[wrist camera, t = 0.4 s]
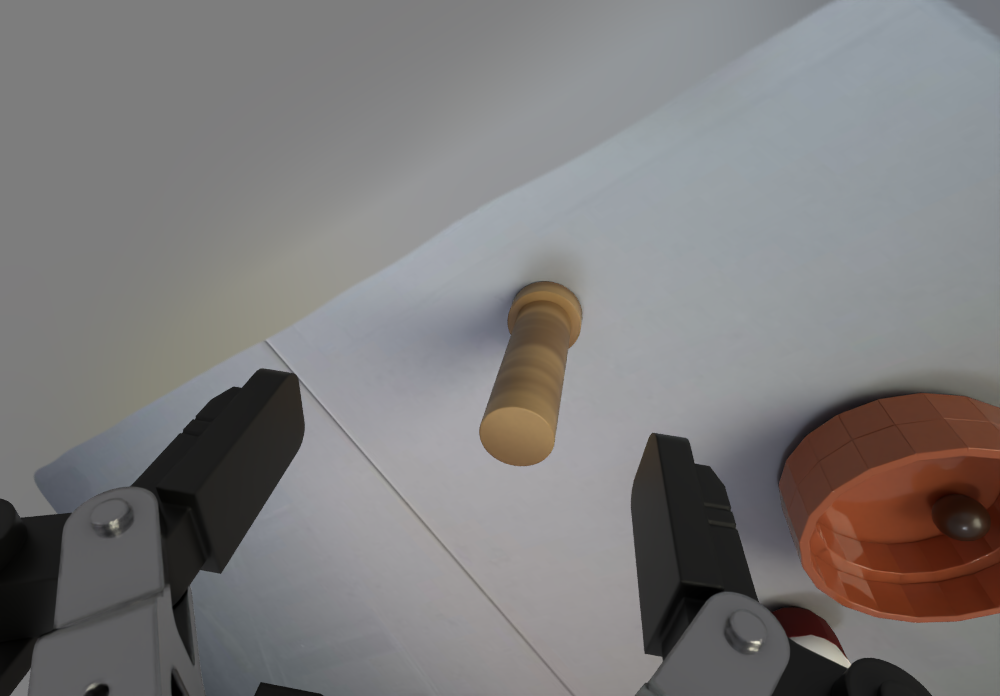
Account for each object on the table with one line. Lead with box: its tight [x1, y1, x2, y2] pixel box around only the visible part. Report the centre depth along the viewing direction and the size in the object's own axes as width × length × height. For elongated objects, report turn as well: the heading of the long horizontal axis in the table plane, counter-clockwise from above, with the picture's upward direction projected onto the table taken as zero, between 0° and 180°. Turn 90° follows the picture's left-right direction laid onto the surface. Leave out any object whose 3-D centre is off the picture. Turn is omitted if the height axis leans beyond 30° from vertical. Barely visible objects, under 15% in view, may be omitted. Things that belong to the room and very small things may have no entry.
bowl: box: [779, 393, 1000, 623], centre depth 35 cm, size 15×15×6 cm
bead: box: [931, 494, 991, 541], centre depth 36 cm, size 3×3×3 cm
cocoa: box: [771, 607, 851, 668], centre depth 42 cm, size 10×6×12 cm, turn 124°
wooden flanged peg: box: [479, 281, 582, 466], centre depth 31 cm, size 5×5×13 cm
